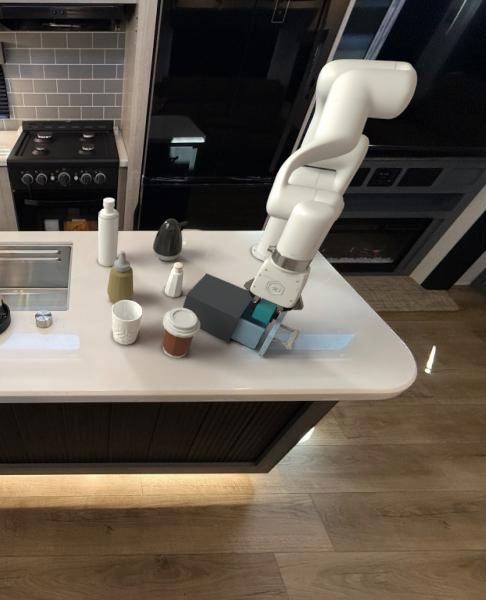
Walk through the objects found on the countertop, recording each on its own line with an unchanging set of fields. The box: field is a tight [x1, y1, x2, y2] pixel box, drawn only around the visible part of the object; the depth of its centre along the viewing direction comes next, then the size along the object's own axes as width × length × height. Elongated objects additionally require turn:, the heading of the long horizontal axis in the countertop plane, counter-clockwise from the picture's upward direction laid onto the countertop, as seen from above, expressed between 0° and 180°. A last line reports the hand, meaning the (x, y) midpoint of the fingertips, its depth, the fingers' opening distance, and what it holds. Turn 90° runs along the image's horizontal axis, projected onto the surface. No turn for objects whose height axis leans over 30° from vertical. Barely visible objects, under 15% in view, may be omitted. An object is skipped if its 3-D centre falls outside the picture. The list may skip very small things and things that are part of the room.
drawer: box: [231, 301, 301, 357], centre depth 84 cm, size 18×11×8 cm, turn 50°
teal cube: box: [252, 298, 278, 325], centre depth 80 cm, size 4×4×4 cm
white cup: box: [111, 299, 143, 346], centre depth 85 cm, size 8×8×10 cm
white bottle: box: [97, 197, 120, 267], centre depth 106 cm, size 7×7×25 cm
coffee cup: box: [162, 307, 201, 359], centre depth 81 cm, size 9×9×12 cm
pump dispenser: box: [152, 218, 188, 262], centre depth 111 cm, size 10×10×15 cm
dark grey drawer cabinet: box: [182, 272, 252, 344], centre depth 90 cm, size 15×13×10 cm
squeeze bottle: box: [106, 250, 134, 305], centre depth 93 cm, size 8×8×18 cm
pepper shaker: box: [164, 262, 184, 298], centre depth 98 cm, size 5×5×11 cm
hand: (262, 315), depth 82 cm, fingers closed on teal cube, 3 cm apart
